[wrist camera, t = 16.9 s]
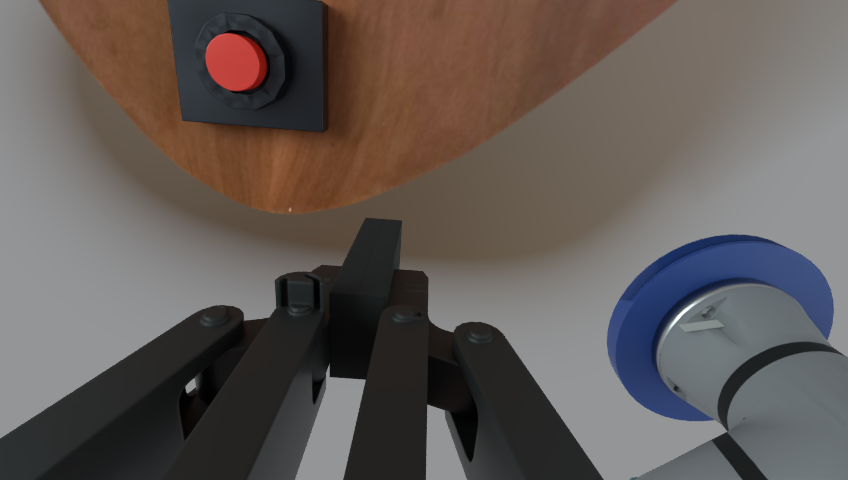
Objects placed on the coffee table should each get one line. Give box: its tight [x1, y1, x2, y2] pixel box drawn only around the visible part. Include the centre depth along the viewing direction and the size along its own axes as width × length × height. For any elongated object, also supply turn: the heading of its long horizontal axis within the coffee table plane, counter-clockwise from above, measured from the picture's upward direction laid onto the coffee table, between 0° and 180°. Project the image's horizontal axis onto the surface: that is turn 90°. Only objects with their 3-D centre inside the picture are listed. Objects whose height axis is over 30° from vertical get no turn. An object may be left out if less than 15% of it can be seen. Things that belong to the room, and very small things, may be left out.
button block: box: [167, 0, 328, 132], centre depth 35 cm, size 12×10×4 cm
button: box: [206, 33, 267, 91], centre depth 32 cm, size 4×4×2 cm
